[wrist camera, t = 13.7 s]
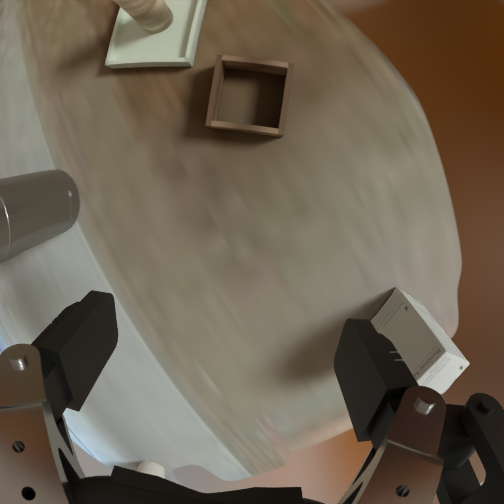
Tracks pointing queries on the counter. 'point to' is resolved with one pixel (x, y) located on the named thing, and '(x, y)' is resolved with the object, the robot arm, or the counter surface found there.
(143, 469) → the foam cup
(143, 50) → the tray
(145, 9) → the dowel
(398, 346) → the skincare box
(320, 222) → the counter surface
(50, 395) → the robot arm
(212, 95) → the box
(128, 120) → the counter surface
